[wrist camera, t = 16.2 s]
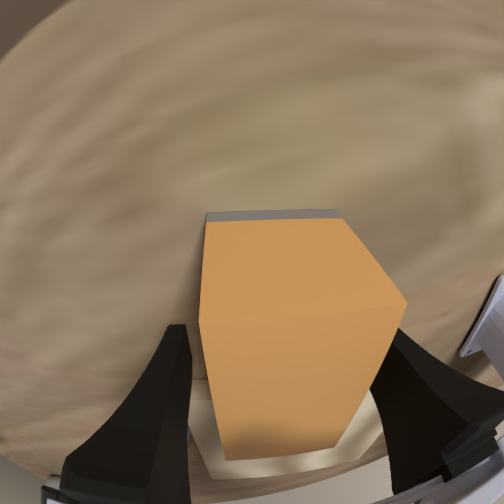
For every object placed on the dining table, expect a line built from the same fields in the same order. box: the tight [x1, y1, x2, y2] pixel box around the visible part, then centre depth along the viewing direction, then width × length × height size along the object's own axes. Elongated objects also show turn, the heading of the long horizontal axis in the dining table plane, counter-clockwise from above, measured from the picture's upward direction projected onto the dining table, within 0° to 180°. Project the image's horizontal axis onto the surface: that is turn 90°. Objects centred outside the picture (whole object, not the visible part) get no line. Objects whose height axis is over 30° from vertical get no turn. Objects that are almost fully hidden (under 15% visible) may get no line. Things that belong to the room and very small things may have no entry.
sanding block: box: [199, 209, 408, 461], centre depth 11 cm, size 5×9×6 cm, turn 0°
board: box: [188, 379, 383, 480], centre depth 21 cm, size 16×18×2 cm
